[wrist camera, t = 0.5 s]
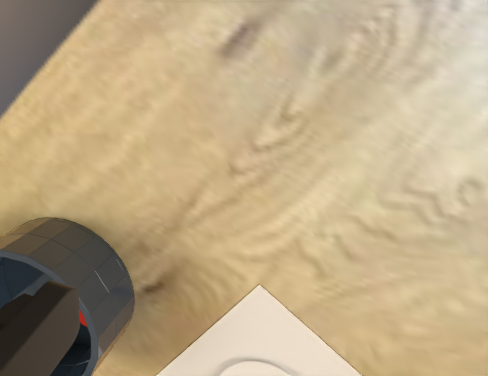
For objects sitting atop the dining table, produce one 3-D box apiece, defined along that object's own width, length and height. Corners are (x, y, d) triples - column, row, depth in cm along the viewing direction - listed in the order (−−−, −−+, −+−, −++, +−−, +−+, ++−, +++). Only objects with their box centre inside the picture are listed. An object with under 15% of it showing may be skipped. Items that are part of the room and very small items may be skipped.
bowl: (-4, 203, 36) (-65, 232, 31) (137, 236, 34) (98, 274, 29) (8, 325, 41) (-44, 370, 36) (132, 361, 39) (97, 414, 34)
